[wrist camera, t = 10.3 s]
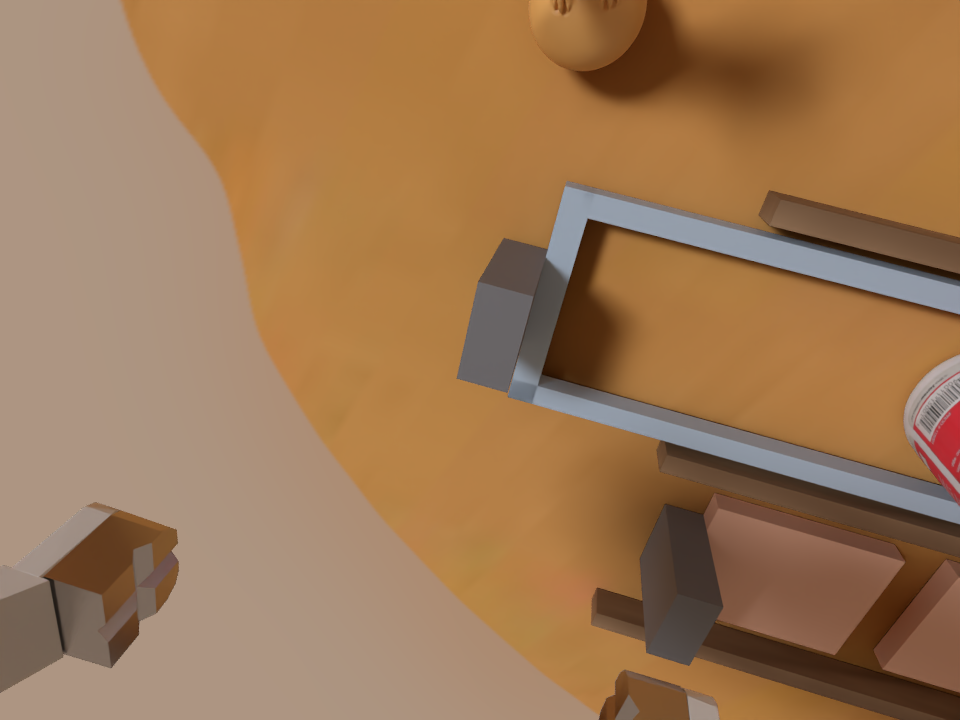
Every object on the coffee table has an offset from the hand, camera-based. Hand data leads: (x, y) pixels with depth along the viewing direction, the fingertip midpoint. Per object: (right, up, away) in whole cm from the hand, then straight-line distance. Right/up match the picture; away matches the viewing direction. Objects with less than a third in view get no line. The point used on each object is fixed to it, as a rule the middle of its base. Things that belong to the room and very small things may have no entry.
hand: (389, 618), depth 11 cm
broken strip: (+22, -8, +21) cm, 31 cm away
